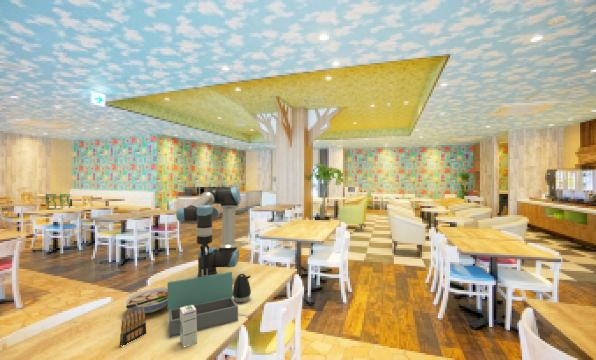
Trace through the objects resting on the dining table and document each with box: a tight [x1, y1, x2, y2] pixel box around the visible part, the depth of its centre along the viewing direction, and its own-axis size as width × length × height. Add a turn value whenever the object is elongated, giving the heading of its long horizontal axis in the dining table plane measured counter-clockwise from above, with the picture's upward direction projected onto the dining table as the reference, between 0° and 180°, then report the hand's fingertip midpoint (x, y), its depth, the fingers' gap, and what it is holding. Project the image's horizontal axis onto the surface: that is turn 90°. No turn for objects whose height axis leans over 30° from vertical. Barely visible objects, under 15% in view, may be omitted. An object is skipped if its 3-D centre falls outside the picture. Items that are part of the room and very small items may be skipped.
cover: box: [167, 271, 234, 311], centre depth 136 cm, size 13×31×2 cm
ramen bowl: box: [125, 287, 168, 314], centre depth 142 cm, size 25×23×8 cm
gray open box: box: [168, 297, 239, 338], centre depth 129 cm, size 12×30×7 cm, turn 118°
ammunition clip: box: [119, 308, 147, 346], centre depth 116 cm, size 11×2×12 cm, turn 157°
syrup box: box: [179, 305, 198, 348], centre depth 113 cm, size 6×6×14 cm
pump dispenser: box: [232, 273, 252, 303], centre depth 153 cm, size 10×10×15 cm
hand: (204, 280), depth 138 cm, fingers closed
